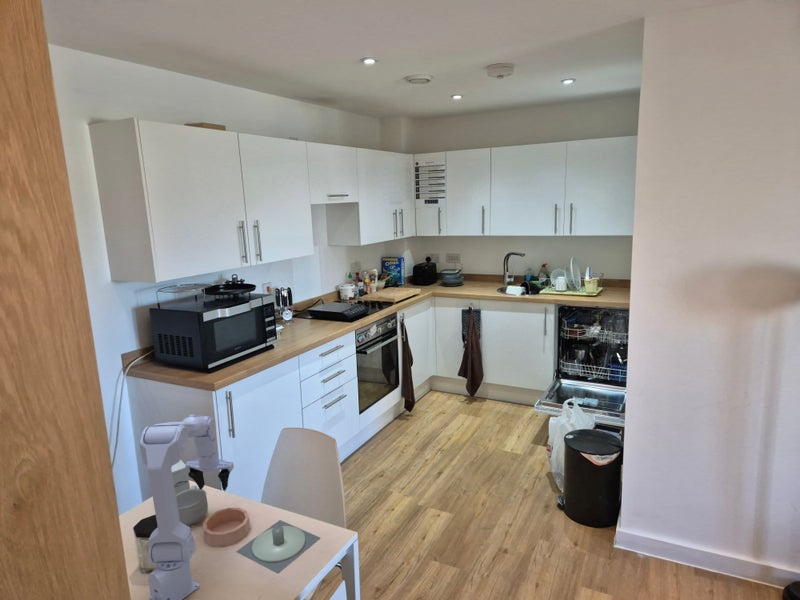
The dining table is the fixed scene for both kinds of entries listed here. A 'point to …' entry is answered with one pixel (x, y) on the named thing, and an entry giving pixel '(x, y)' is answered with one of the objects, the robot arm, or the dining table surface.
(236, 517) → the bowl
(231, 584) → the dining table surface
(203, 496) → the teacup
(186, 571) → the robot arm
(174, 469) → the supplement box
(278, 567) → the mat
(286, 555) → the cover
